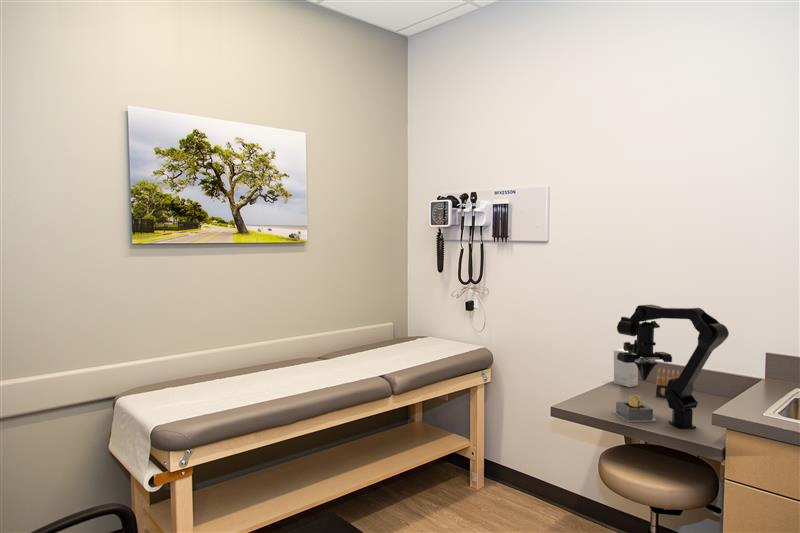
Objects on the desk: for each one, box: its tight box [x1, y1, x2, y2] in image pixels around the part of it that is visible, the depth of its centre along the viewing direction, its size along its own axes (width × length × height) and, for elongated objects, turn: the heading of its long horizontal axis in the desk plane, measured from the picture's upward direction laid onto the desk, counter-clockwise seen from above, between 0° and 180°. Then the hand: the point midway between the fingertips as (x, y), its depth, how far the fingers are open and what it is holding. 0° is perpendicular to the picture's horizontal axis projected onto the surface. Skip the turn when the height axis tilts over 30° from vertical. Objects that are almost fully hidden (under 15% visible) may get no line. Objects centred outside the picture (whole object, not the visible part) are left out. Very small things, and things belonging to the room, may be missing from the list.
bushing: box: [628, 394, 642, 408], centre depth 193 cm, size 4×4×7 cm
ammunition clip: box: [655, 367, 681, 399], centre depth 217 cm, size 11×2×12 cm, turn 62°
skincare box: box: [613, 347, 639, 388], centre depth 237 cm, size 8×7×16 cm
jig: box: [611, 401, 658, 423], centre depth 193 cm, size 11×11×4 cm
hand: (643, 380), depth 196 cm, fingers closed
